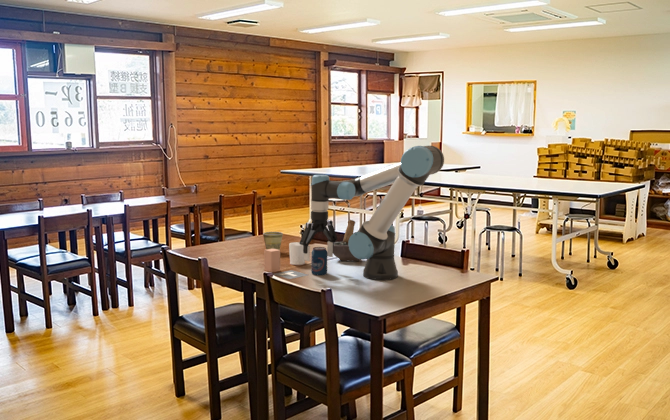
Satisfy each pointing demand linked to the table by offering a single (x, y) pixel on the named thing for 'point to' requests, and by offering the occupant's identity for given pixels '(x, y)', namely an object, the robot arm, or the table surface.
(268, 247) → the ceramic cup
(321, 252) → the soda can
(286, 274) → the mat
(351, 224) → the mortar and pestle
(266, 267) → the block
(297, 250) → the white cup
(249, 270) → the table surface
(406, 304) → the table surface
